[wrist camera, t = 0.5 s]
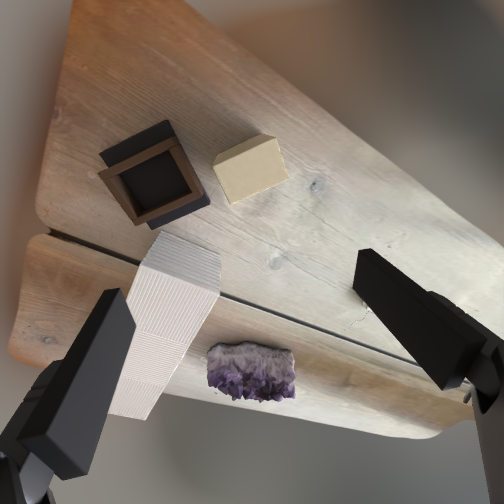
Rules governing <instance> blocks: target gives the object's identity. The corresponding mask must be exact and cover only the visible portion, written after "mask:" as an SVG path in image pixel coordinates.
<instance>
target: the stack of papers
mask: <svg viewBox="0 0 504 504" xmlns="http://www.w3.org/2000/svg"><path fill="white" fill-rule="evenodd" d="M221 261H222V256H221V255H219V254H216V253H214V252H212V251H209V250H207V249H204V248H202V247H200V246H197V245H195V244H193V243H190V242H188V241H186V240H183V239H181V238H179V237H176V236H174V235H172V234H169V233H167V232H164V231H162V230H161V232H160V234H159V235H158V237H157V238H156V240H155V242H154V243H153V245H152V246H151V248H150V250H149V251H148V253H147V254H146V256H145V257H144V259H143V261H142V262H141V264H140V266H139V268H138V271H137V273H136V276H135V278H134V281H133V283H132V286H131V288H130V291H129V293H128V296H127V299H126V302H127V305H128V307H129V309H130V312H131V314H132V316H133V319H134V321H135V323H136V325H137V327H136V330H135V333H134V336H133V339H132V342H131V345H130V348H129V351H128V354H127V357H126V360H125V363H124V366H123V369H122V372H121V375H120V378H119V381H118V384H117V387H116V390H115V393H114V396H113V399H112V402H111V405H110V408H109V411H108V413H110V414H115V415H121V416H126V417H132V418H137V419H143V420H146V418H147V416H148V414H149V413H150V411H151V410H152V408H153V406H154V404H155V403H156V401H157V399H158V397H159V396H160V394H161V393H162V391H163V389H164V388H165V386H166V384H167V383H168V381H169V379H170V377H171V376H172V374H173V372H174V371H175V369H176V367H177V366H178V364H179V362H180V361H181V359H182V357H183V356H184V354H185V352H186V350H187V349H188V347H189V345H190V344H191V342H192V340H193V339H194V337H195V335H196V334H197V332H198V330H199V329H200V327H201V325H202V323H203V322H204V320H205V318H206V317H207V315H208V313H209V312H210V310H211V308H212V307H213V305H214V303H215V302H216V300H217V298H218V297H219V295H220V284H221V282H220V281H221V264H222V262H221Z"/></svg>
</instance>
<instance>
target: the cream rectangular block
mask: <svg viewBox="0 0 504 504" xmlns="http://www.w3.org/2000/svg"><path fill="white" fill-rule="evenodd" d="M212 168H213V170H214V172H215V174H216V176H217V178H218V180H219V182H220V184H221V186H222V188H223V191H224V193H225V195H226V197H227V199H228V201H229V203H230V205H231V204H234V203H236V202H238V201H240V200H243V199H245V198H247V197H249V196H252V195H254V194H256V193H258V192H261V191H263V190H265V189H267V188H270V187H272V186H274V185H277V184H279V183H281V182H283V181H286V180H288V179H289V175H288V172H287V169H286V166H285V163H284V160H283V157H282V154H281V151H280V148H279V145H278V142H277V139H276V137H273V136H269V135H265V134H260V135H258V136H256V137H253V138H251V139H249V140H247V141H245V142H243V143H241V144H239V145H237V146H234V147H232V148H230V149H228V150H226V151H224V152H222V153H220V154H217V156H216V158H215V161H214V164H213V166H212Z"/></svg>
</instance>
